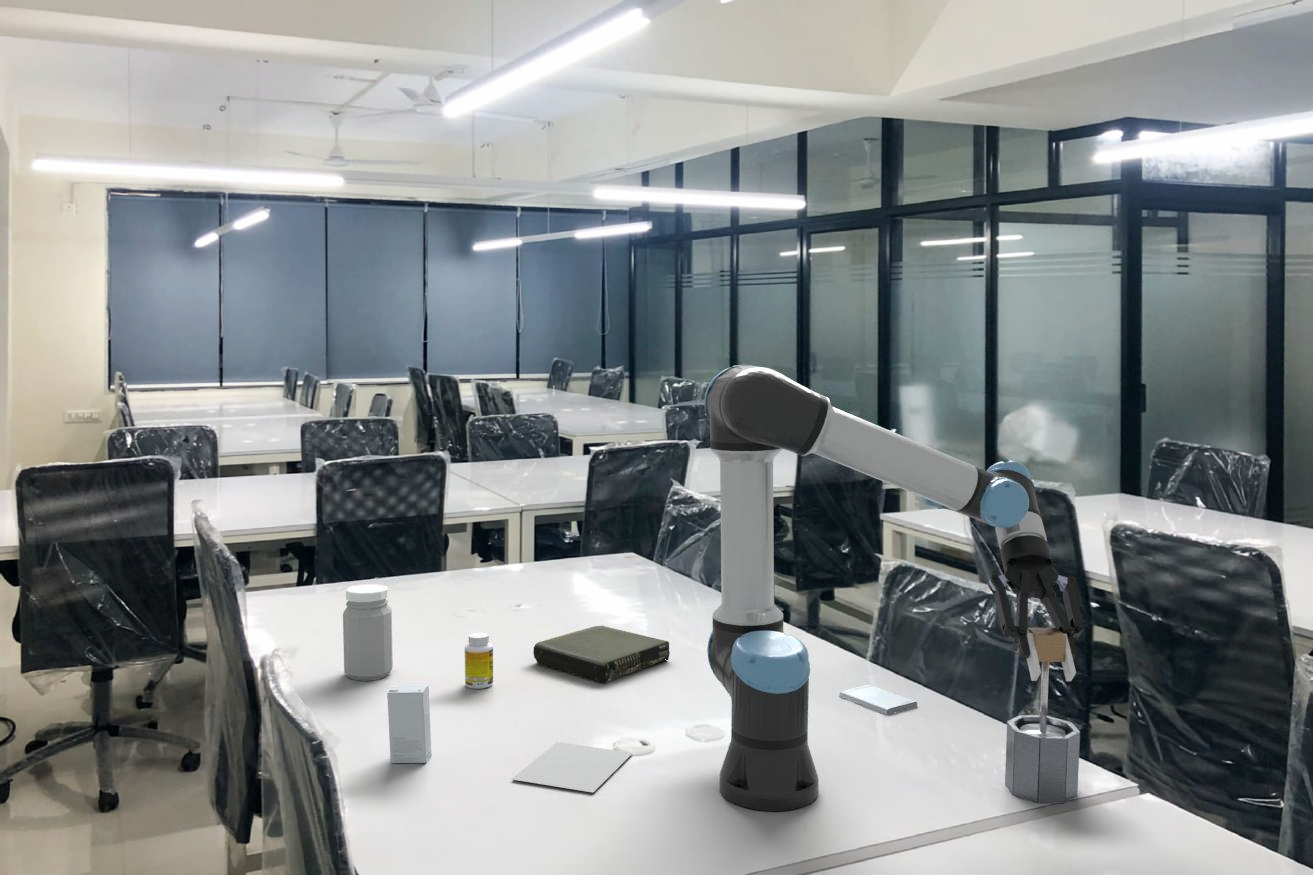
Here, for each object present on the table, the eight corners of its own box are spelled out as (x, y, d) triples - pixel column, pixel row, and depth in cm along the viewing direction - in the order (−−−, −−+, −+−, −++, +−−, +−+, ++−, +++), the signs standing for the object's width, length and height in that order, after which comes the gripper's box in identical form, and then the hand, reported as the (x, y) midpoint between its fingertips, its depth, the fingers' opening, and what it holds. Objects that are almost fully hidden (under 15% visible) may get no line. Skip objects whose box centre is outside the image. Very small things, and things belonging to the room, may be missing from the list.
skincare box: (432, 754, 179) (430, 683, 178) (426, 764, 175) (424, 692, 174) (395, 753, 180) (393, 683, 178) (388, 764, 175) (386, 692, 174)
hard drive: (917, 701, 203) (869, 683, 214) (887, 709, 199) (839, 690, 209) (917, 709, 204) (869, 691, 214) (886, 717, 199) (839, 698, 209)
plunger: (1027, 743, 162) (1031, 637, 161) (1014, 728, 169) (1018, 625, 167) (1072, 744, 162) (1076, 637, 161) (1057, 728, 169) (1061, 626, 167)
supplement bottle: (494, 688, 213) (493, 638, 212) (465, 690, 212) (465, 639, 211) (492, 679, 218) (491, 630, 217) (464, 681, 217) (463, 632, 216)
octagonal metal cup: (1018, 802, 162) (1020, 737, 161) (999, 775, 171) (1001, 714, 170) (1084, 803, 161) (1087, 738, 160) (1061, 776, 171) (1064, 715, 170)
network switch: (614, 689, 214) (614, 664, 214) (523, 669, 227) (522, 645, 226) (676, 660, 234) (676, 637, 233) (589, 642, 246) (589, 621, 246)
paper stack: (458, 774, 172) (458, 770, 172) (529, 722, 195) (528, 718, 195) (593, 796, 164) (593, 792, 164) (650, 739, 187) (650, 735, 187)
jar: (333, 675, 220) (331, 589, 219) (371, 664, 228) (369, 580, 227) (365, 684, 215) (363, 596, 213) (403, 672, 223) (401, 586, 221)
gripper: (1071, 559, 178) (1105, 688, 163) (964, 558, 179) (989, 687, 164) (1084, 533, 172) (1121, 665, 158) (974, 532, 173) (1000, 664, 158)
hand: (1053, 676), depth 161 cm, fingers closed on plunger, 4 cm apart
